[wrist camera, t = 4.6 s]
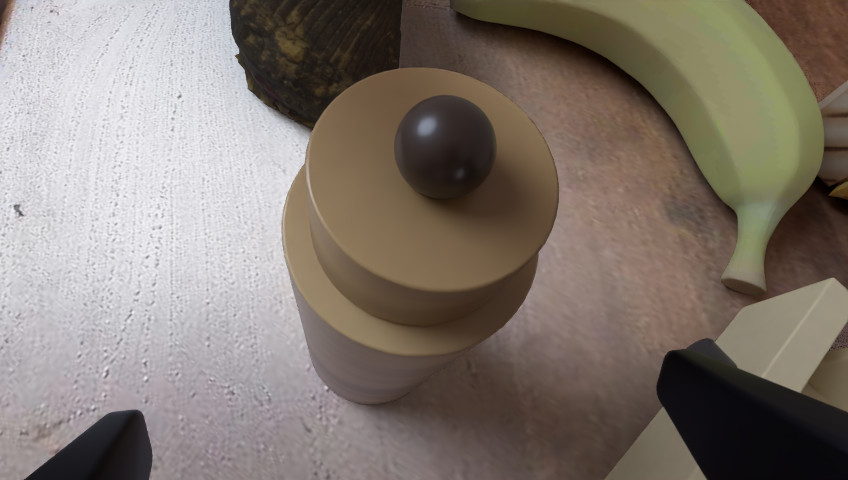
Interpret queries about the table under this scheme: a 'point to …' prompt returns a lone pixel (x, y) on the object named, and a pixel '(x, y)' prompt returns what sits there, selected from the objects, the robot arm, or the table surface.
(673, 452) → the drawer
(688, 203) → the table surface
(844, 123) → the skewer
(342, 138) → the pepper mill
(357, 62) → the seashell
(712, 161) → the banana
